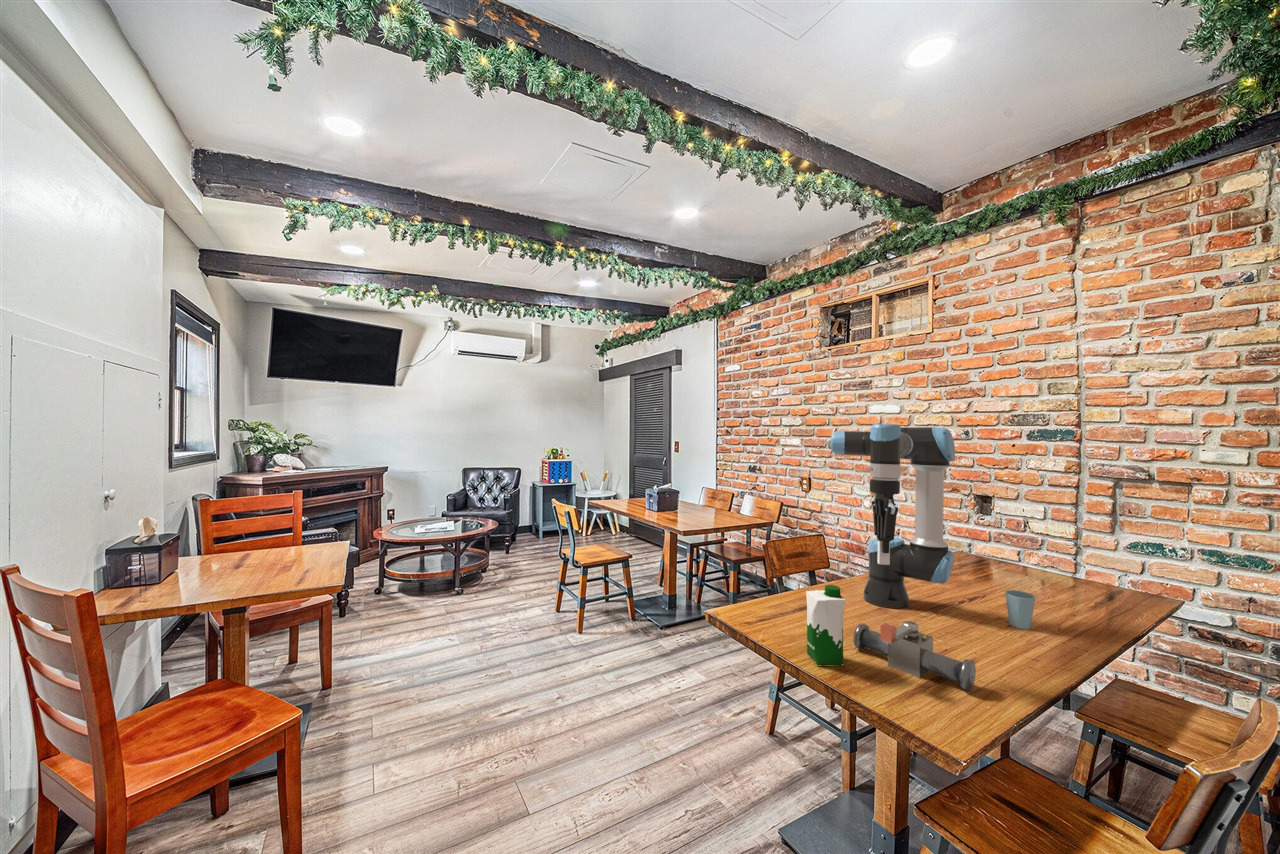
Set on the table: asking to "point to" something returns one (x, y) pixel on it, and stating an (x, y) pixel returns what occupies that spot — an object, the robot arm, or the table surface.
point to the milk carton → (825, 625)
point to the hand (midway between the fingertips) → (883, 563)
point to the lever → (897, 631)
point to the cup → (1020, 608)
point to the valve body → (916, 656)
